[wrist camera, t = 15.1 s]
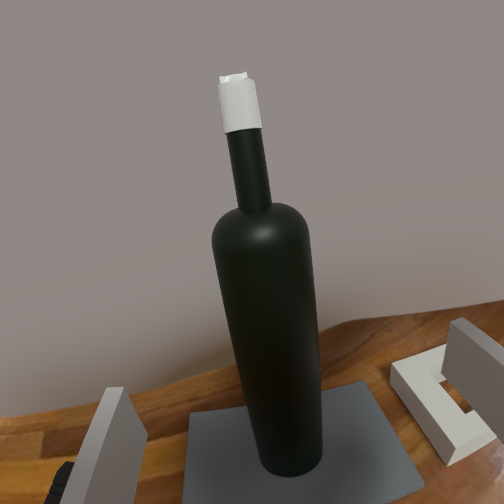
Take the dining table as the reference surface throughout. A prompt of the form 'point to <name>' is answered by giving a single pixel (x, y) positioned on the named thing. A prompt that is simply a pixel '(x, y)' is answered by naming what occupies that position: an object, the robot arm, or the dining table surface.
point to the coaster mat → (317, 480)
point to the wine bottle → (268, 297)
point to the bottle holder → (438, 407)
